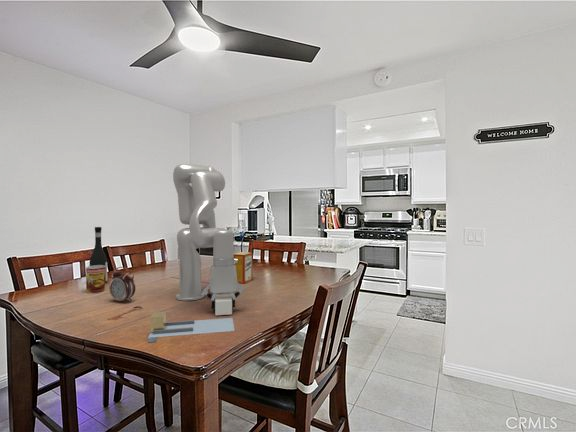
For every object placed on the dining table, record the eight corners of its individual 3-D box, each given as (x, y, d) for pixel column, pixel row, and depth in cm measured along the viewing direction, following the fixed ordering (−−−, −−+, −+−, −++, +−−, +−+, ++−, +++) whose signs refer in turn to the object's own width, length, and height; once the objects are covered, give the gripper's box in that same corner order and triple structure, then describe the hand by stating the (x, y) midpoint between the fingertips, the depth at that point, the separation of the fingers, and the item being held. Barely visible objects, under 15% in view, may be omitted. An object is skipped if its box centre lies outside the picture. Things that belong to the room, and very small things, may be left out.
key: (116, 323, 113) (148, 310, 127) (116, 320, 113) (148, 307, 127) (104, 320, 115) (137, 307, 129) (104, 317, 115) (137, 305, 129)
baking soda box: (242, 279, 179) (242, 251, 179) (252, 280, 177) (252, 251, 177) (233, 282, 171) (233, 253, 170) (244, 284, 168) (244, 254, 168)
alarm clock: (108, 301, 136) (108, 267, 135) (118, 298, 140) (117, 265, 140) (127, 304, 132) (127, 269, 132) (136, 301, 137) (136, 267, 136)
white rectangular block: (215, 307, 123) (215, 294, 123) (230, 306, 125) (230, 294, 124) (215, 315, 114) (215, 301, 114) (232, 314, 116) (232, 300, 116)
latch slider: (153, 326, 104) (153, 312, 104) (166, 325, 105) (165, 311, 105) (150, 332, 99) (150, 317, 99) (163, 331, 100) (163, 316, 100)
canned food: (87, 294, 146) (87, 268, 146) (84, 291, 152) (84, 266, 152) (107, 291, 152) (106, 266, 151) (103, 288, 158) (103, 264, 157)
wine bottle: (103, 281, 172) (102, 226, 171) (110, 283, 168) (109, 227, 167) (87, 284, 166) (86, 227, 165) (93, 286, 161) (93, 227, 160)
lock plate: (155, 327, 108) (155, 320, 107) (232, 321, 113) (232, 315, 113) (147, 342, 96) (147, 334, 96) (234, 335, 102) (234, 327, 102)
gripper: (245, 260, 125) (245, 305, 125) (200, 261, 121) (200, 308, 121) (247, 263, 117) (247, 311, 118) (199, 265, 113) (199, 314, 114)
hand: (223, 309), depth 120 cm, fingers closed on white rectangular block, 5 cm apart
